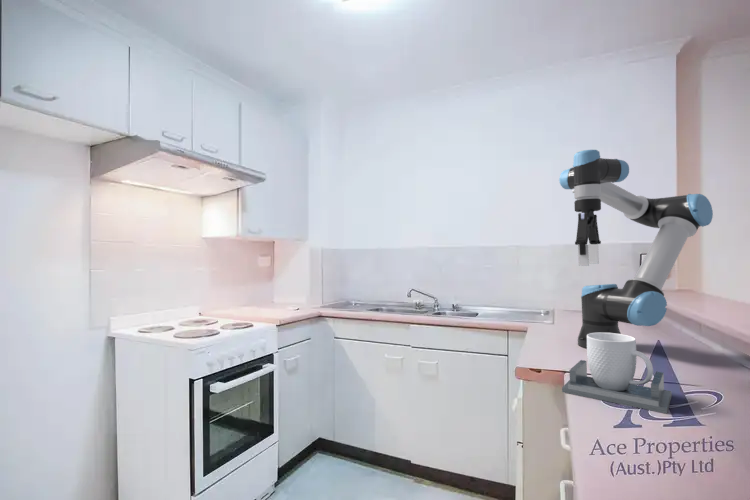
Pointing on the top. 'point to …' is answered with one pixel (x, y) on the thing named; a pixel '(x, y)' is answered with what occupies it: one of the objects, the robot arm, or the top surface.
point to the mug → (614, 360)
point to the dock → (631, 396)
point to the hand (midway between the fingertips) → (589, 264)
